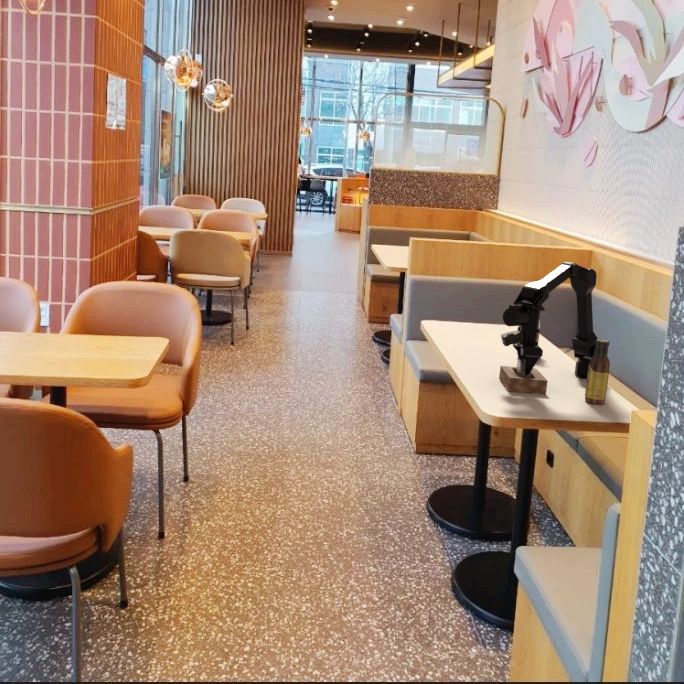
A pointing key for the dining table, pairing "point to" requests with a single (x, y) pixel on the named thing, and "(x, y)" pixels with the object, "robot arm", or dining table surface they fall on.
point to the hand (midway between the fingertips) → (523, 371)
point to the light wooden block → (521, 368)
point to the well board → (523, 381)
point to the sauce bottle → (598, 374)
